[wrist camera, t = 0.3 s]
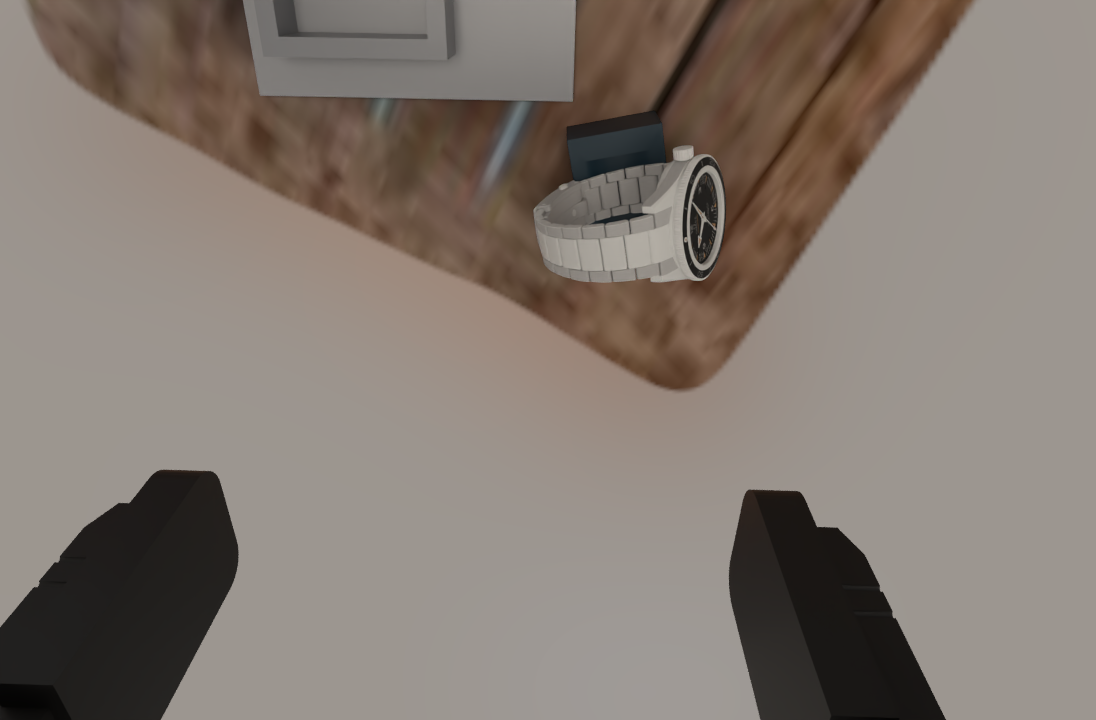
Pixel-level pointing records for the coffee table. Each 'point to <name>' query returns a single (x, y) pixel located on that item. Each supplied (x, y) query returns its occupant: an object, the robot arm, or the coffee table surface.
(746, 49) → the coffee table surface
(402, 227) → the coffee table surface
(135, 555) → the robot arm
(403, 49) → the housing
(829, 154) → the coffee table surface
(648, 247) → the watch
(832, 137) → the coffee table surface
